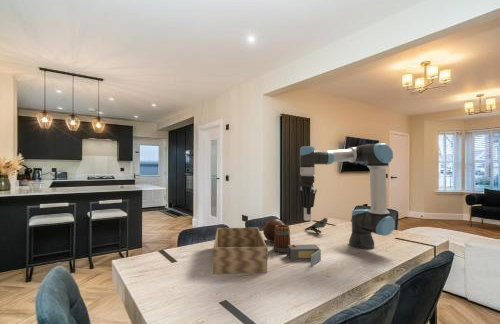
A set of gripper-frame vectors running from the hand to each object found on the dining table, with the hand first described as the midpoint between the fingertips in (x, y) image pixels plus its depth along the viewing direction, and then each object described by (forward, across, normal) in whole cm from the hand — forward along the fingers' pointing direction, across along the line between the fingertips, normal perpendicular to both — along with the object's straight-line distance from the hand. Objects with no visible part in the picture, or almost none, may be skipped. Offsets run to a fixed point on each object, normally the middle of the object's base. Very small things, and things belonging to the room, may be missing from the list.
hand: (306, 220), depth 138 cm
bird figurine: (+23, -47, +43) cm, 68 cm away
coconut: (+23, -40, +3) cm, 46 cm away
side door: (+22, +3, +4) cm, 23 cm away
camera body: (+22, -7, +3) cm, 24 cm away
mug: (+23, -23, -1) cm, 32 cm away
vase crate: (+22, -20, -30) cm, 43 cm away
